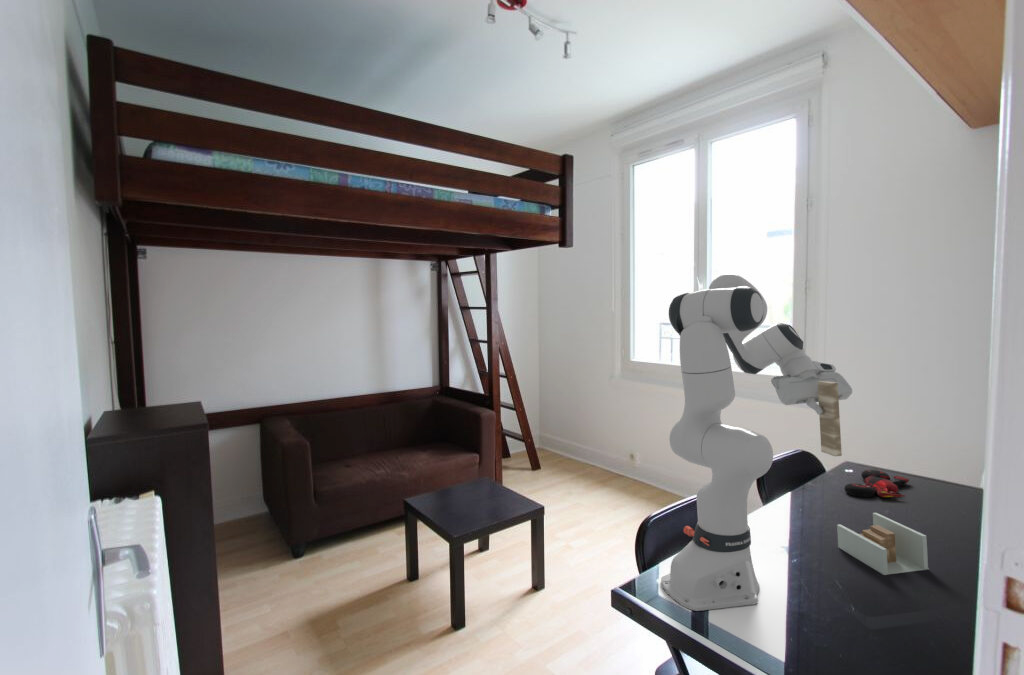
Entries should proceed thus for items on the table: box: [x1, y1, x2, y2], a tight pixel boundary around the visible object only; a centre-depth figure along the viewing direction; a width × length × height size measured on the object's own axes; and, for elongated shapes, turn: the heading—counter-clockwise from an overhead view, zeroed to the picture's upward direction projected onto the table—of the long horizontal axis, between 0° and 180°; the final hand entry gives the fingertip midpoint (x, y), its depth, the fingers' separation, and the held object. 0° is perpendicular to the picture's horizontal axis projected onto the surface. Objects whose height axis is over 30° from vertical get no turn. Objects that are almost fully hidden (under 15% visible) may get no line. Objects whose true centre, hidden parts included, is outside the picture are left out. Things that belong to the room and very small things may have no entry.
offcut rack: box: [836, 512, 929, 576], centre depth 119 cm, size 12×14×10 cm
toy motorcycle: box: [844, 469, 910, 498], centre depth 164 cm, size 25×5×16 cm
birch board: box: [817, 381, 842, 457], centre depth 132 cm, size 2×5×20 cm, turn 5°
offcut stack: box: [858, 524, 896, 563], centre depth 119 cm, size 6×6×7 cm
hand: (828, 412), depth 133 cm, fingers closed on birch board, 2 cm apart
